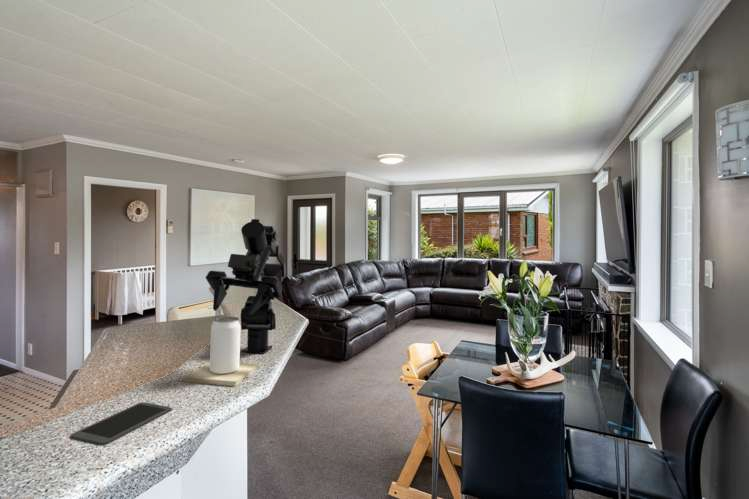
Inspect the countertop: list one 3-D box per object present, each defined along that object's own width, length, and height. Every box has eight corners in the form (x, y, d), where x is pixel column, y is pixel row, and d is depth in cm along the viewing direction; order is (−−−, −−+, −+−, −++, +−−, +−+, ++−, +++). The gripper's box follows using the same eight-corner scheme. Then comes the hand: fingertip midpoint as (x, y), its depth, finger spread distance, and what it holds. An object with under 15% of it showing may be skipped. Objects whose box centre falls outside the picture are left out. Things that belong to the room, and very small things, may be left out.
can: (230, 376, 89) (231, 322, 88) (203, 373, 90) (205, 320, 90) (244, 367, 95) (246, 317, 95) (219, 364, 96) (221, 315, 96)
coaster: (212, 364, 99) (213, 360, 99) (258, 368, 98) (258, 364, 97) (183, 381, 87) (183, 376, 87) (235, 386, 86) (235, 381, 86)
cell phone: (67, 440, 62) (67, 435, 62) (142, 405, 75) (142, 401, 75) (104, 448, 60) (104, 443, 60) (174, 411, 73) (174, 407, 73)
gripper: (211, 239, 102) (183, 288, 92) (280, 245, 99) (259, 297, 89) (225, 266, 110) (201, 314, 100) (289, 272, 108) (271, 322, 98)
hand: (231, 311), depth 97 cm, fingers open, 9 cm apart
